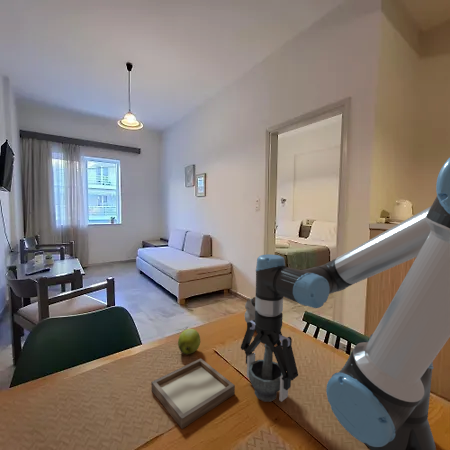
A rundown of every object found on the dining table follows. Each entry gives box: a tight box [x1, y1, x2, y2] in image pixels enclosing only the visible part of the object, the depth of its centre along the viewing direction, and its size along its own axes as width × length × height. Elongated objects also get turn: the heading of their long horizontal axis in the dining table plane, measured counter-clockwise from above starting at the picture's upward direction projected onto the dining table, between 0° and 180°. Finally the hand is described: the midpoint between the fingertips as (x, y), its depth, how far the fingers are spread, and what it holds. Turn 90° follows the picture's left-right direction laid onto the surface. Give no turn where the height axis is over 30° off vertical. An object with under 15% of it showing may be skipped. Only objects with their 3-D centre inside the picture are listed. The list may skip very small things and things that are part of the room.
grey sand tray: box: [150, 358, 236, 430], centre depth 71 cm, size 16×17×3 cm
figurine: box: [244, 296, 256, 324], centre depth 106 cm, size 9×10×15 cm
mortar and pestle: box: [248, 344, 282, 403], centre depth 71 cm, size 11×9×12 cm
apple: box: [177, 328, 201, 355], centre depth 90 cm, size 8×9×8 cm
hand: (266, 386), depth 71 cm, fingers open, 11 cm apart
